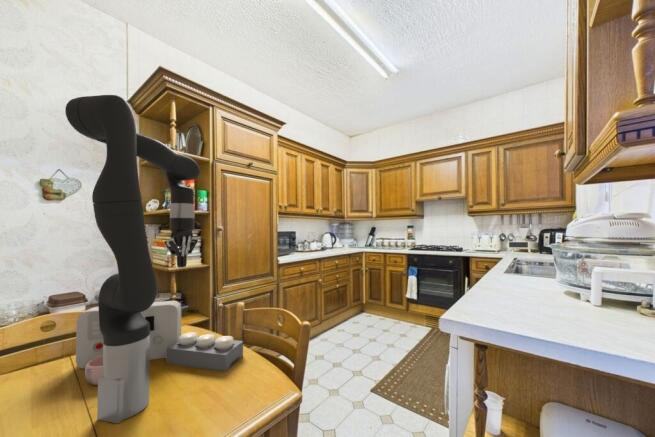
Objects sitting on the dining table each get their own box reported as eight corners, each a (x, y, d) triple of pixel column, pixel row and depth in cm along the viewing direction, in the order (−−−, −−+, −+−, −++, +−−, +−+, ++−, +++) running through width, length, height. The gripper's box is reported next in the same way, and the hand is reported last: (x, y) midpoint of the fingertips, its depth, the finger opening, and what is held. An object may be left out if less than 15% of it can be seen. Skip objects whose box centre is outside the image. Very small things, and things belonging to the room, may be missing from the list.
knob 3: (226, 362, 83) (226, 343, 83) (211, 361, 84) (211, 342, 85) (236, 354, 89) (236, 336, 89) (221, 352, 90) (221, 335, 90)
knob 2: (207, 360, 85) (207, 341, 85) (192, 358, 86) (192, 340, 86) (218, 352, 90) (218, 334, 90) (204, 350, 92) (204, 333, 92)
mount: (225, 371, 81) (225, 355, 81) (166, 363, 86) (166, 347, 86) (243, 355, 90) (243, 341, 91) (188, 349, 95) (189, 335, 96)
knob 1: (189, 358, 86) (189, 339, 87) (174, 356, 88) (175, 338, 88) (200, 350, 92) (201, 333, 92) (187, 348, 93) (187, 331, 93)
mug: (103, 391, 71) (103, 369, 72) (75, 387, 73) (75, 365, 73) (142, 368, 83) (143, 349, 83) (117, 364, 85) (117, 346, 85)
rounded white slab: (70, 374, 80) (71, 314, 80) (85, 361, 87) (86, 307, 88) (175, 359, 88) (176, 305, 89) (180, 349, 96) (181, 299, 96)
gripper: (176, 216, 83) (175, 270, 83) (204, 217, 96) (204, 264, 96) (157, 216, 85) (156, 269, 84) (187, 217, 98) (186, 264, 97)
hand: (181, 267), depth 90 cm, fingers closed
